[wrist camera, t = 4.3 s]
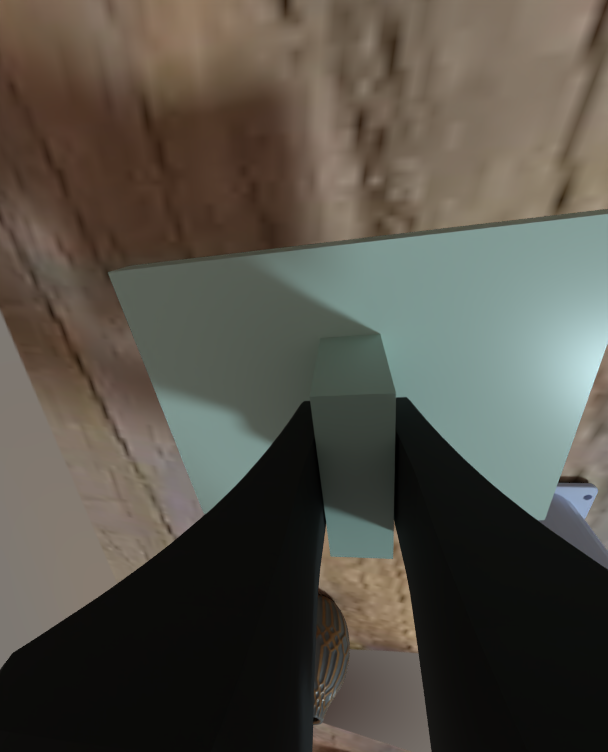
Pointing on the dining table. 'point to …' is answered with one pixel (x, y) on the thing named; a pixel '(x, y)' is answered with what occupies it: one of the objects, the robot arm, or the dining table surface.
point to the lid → (380, 356)
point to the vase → (329, 656)
